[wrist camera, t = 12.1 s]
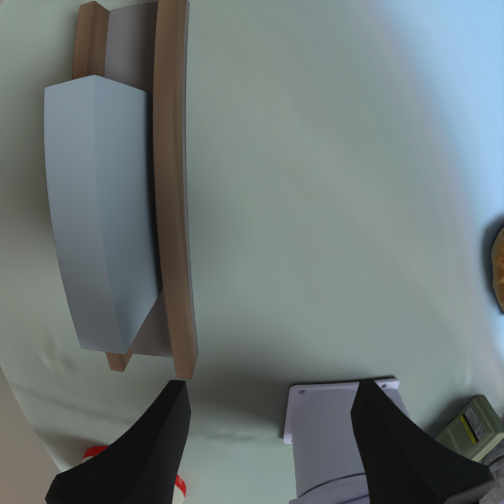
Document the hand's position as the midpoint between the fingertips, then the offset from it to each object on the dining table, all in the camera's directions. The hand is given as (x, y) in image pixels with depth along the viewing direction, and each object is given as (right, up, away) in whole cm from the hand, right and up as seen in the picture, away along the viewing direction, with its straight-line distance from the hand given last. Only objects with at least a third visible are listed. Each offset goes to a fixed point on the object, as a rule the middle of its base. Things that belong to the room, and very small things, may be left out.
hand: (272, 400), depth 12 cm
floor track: (-8, +10, +6) cm, 14 cm away
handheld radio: (+20, -20, +18) cm, 33 cm away
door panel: (-8, +9, +6) cm, 14 cm away
